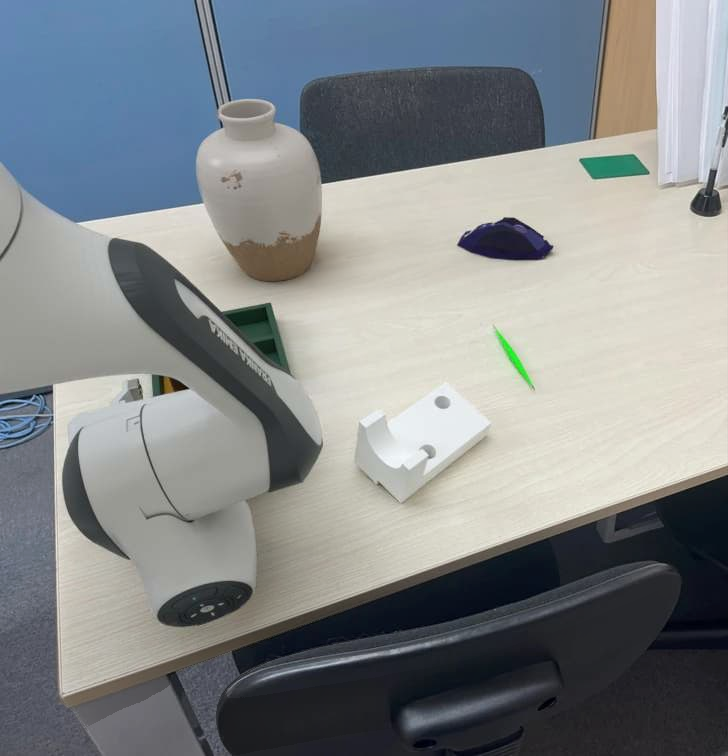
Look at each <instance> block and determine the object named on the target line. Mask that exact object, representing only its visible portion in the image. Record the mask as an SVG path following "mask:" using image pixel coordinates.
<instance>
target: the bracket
mask: <svg viewBox="0 0 728 756" xmlns="http://www.w3.org/2000/svg"><path fill="white" fill-rule="evenodd" d="M491 425H492V421H491V420H490V419H488V418H487V416H485V415H484V413H482V412H480V410H479V409H478V408H476V407H475V405H473V404H472V403H471V402H469V400H468V399H466V398H465V397H464V396H463V395H462V394H460V392H459V391H457V390H456V389H455V388H454V387H453V386H452V385H451V383H449V382H448V381H445V382H444V383H442V384H440V385H439V386H437V388H435V389H433V390H432V391H431V392H429V393H428V394H426V395H425V396H423V397H422V398H421V399H419V400H418V401H416V402H415V403H413V404H412V405H410V406H409V407H407V408H406V409H405V410H403V411H402V412H400V413H398V414H397V415H396V416H394V417H393V418H391V419H390V420H389V421H387V414H386V413H385V412H384V411H383V410H382V409H381V408H380V407H379V408H377V409H375V410H374V411H373V412H371V413H369V414H368V415H366V416H365V417H364V418H362V419H361V420H359V421H358V428H357V435H356V436H357V437H356V443H355V452H354V460H353V463H354V464H355V465H357V467H358V468H359V469H360V470H361V471H362V472H363V473H364V474H366V476H367V477H368V478H369V479H370V480H371V481H372V482H373V483H374V484H375V485H378V484H380V485H382V486H383V487H384V488H385V489H386V491H388V492H389V493H390V494H391V495H392V497H394V499H395V500H397V501H398V503H399V504H402V503H405V501H406V500H408V499H409V498H410V497H412V496H413V495H414V494H415V493H416V492H417V491H419V490H420V489H421V488H423V487H424V486H425V485H426V484H428V483H429V482H430V481H432V480H433V479H434V478H435V477H437V476H438V475H439V474H440V473H442V472H443V471H444V470H446V469H447V468H448V467H450V465H452V464H453V463H454V462H455V461H457V460H458V459H459V458H461V457H462V456H463V455H465V453H467V452H468V451H470V450H471V449H472V448H473V447H475V446H476V445H478V444H479V442H481V441H482V440H483V439H485V438H486V437H487V436H488V434H489V431H490V428H491Z"/></svg>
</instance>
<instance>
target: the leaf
mask: <svg viewBox="0 0 728 756" xmlns="http://www.w3.org/2000/svg"><path fill="white" fill-rule="evenodd" d="M492 327H493V329H494V330H495V332H496V334H497V336H498V338H499V340H500V342H501V344H502V346H503V348H504V350H505V351H506V353H507V355H508V357H509V358H510V361H512V363H513V364H514V365H515V367H516V368H517V370H518V371H519V372H520V373H521V375H522V376H523V377H524V378H525V380H526V381H527V382H528V383H529V384H530V386H531V387H532V388H533V389H535V387H534V385H533V383H532V381H531V379H530V377H529V375H528V373H527V371H526V369H525V367H524V365H523V364H522V362H521V360H520V358H519V357H518V354H517V353H516V352H515V350H514V349H513V348H512V346H511V345H510V344H509V343H508V341H507V340H506V338H505V337H504V336H503V335H502V334H501V332H500V331H499V330H498V329H497V328H496V326H494V324H492Z"/></svg>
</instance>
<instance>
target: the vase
mask: <svg viewBox="0 0 728 756" xmlns="http://www.w3.org/2000/svg"><path fill="white" fill-rule="evenodd" d="M276 115H277V108H276V106H275V105H274V104H273V103H272V102H270V101H268V100H264V99H258V98H242V99H236V100H231V101H229V102H225V103H224V104H222V105H220V106H219V107H218V109H217V111H216V116H217V118H218V120H219V121H221V123H222V126H223V127H222V128H220V129H217V130H215V131H213V132H212V133H210V134H209V135H208V136H207V137H205V138H204V139H203V140H202V142H201V144H200V145H199V147H198V149H197V153H196V158H195V175H196V182H197V187H198V191H199V194H200V197H201V200H202V203H203V206H204V208H205V210H206V213H207V215H208V217H209V218H210V221H211V223H212V225H213V227H214V229H215V231H216V233H217V235H218V236H219V239H220V240H221V241H222V243H223V245H224V246H225V248H226V250H227V251H228V253H229V254H230V255H231V256H232V258H233V259H234V260H235V262H236V264H237V265H238V266H239V267H240V268H241V269H242V270H243V271H244V273H246V274H247V275H248V276H249V277H250V278H252V279H255V280H258V281H262V282H282V281H287V280H290V279H294V278H296V277H298V276H300V275H302V274H304V273H305V272H306V271H308V269H309V268H310V266H311V265H312V262H313V260H314V257H315V253H316V249H317V245H318V242H319V238H320V231H321V226H322V216H323V215H322V214H323V213H322V212H323V184H322V177H321V176H322V175H321V169H320V164H319V161H318V158H317V155H316V153H315V150H314V148H313V147H312V145H311V143H310V142H309V140H308V139H307V138H306V136H304V134H302V132H300V131H299V130H297V129H295V128H293V127H291V126H289V125H286V124H283V123H279V122H275V116H276Z"/></svg>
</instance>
